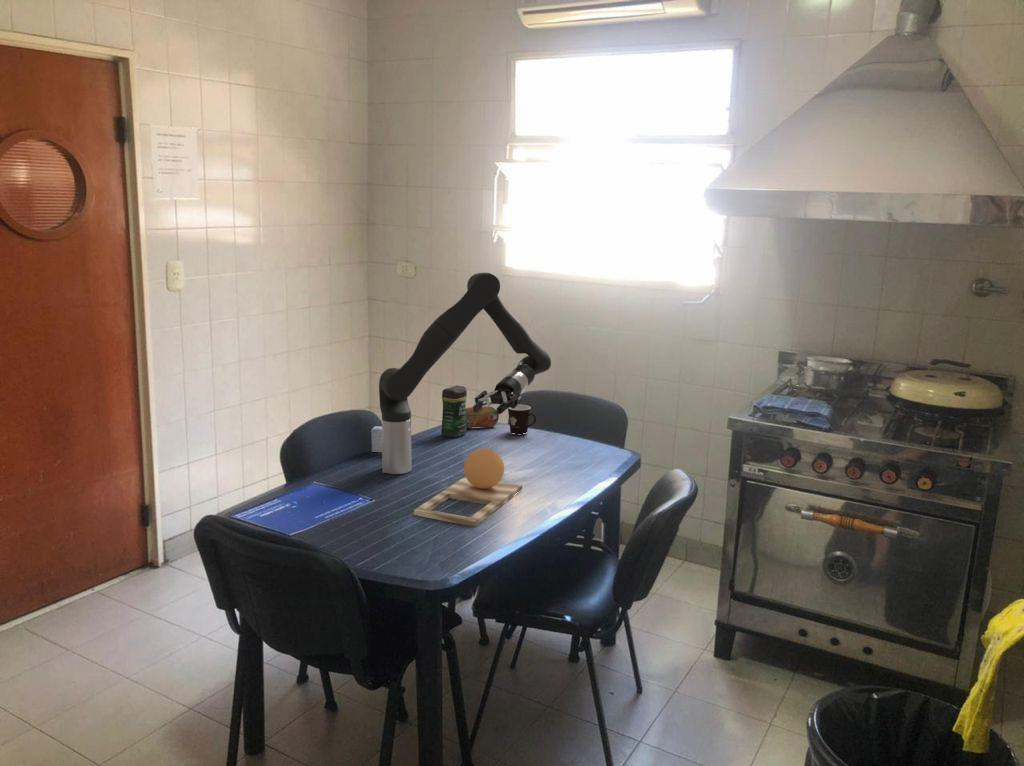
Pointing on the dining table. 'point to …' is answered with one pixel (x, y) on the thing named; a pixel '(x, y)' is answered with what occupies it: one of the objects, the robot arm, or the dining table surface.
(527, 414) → the coffee mug
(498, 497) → the board
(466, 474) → the ball
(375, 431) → the medicine box
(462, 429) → the coffee jar
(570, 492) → the dining table surface
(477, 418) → the tin
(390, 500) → the dining table surface
